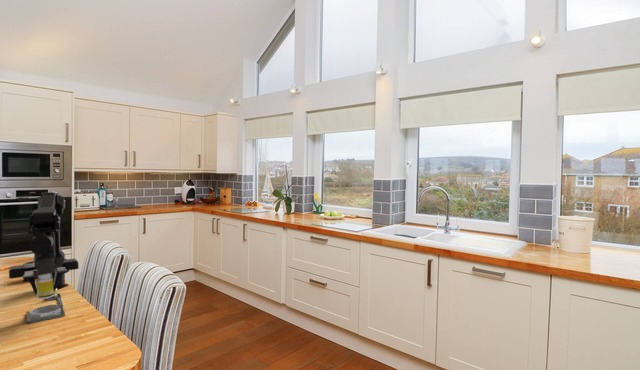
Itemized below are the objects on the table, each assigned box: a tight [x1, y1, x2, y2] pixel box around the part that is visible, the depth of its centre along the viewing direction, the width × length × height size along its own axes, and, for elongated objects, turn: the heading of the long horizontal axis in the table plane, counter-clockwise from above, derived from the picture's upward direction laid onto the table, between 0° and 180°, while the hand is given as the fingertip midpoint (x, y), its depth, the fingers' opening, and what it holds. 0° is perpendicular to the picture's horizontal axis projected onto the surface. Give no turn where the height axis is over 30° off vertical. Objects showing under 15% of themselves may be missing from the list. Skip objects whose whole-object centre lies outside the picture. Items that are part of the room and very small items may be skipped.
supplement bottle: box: [35, 273, 54, 300], centre depth 122 cm, size 5×5×8 cm
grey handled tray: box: [25, 288, 66, 324], centre depth 129 cm, size 25×11×4 cm, turn 41°
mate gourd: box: [22, 260, 38, 283], centre depth 161 cm, size 8×8×15 cm
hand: (45, 292), depth 123 cm, fingers closed on supplement bottle, 5 cm apart
